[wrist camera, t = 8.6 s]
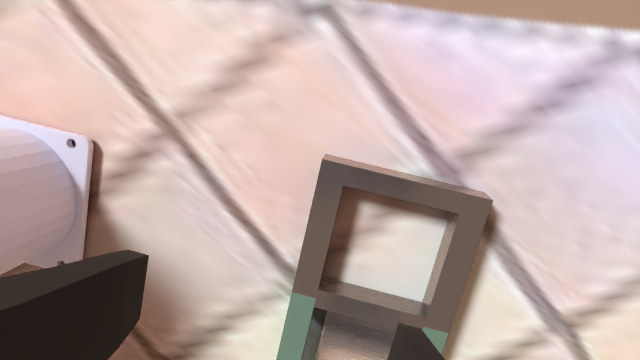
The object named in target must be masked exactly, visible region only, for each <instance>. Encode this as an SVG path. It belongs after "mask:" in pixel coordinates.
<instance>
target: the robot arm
mask: <svg viewBox="0 0 640 360" xmlns="http://www.w3.org/2000/svg"><path fill="white" fill-rule="evenodd" d="M72 139H73V140H74V141H75V142H76V146H75V147H74V146H73V145H72ZM92 158H93V142H92V140H91V139H90V138H89V137H87V136H84V135H80V134H76V133H72V132H68V131H64V130H60V129H56V128H52V127H48V126H44V125H40V124H35V123H31V122H27V121H23V120H19V119H15V118H11V117H7V116H3V115H0V275H1V274H3V273H5V272H7V271H9V270H11V269H13V268H15V267H17V266H19V265H21V264H23V263H27V264H31V265H35V266H38V267H42V268H46V269H41V270H36V271H32V272H27V273H22V274H18V275H13V276H8V277H2V278H0V360H108V358H109V357H110V356H111V355H112V354H113V353H114V352H115V351H116V350H117V349H118V348H119V346H120V345H121V344H122V342H123V341H124V340H125V338H126V337H127V336H128V335H129V333H130V332H131V330H132V329H133V327H134V326H135V325H136V323H137V322H138V320H139V319H140V313H141V306H142V299H143V292H144V285H145V278H146V271H147V264H148V257H149V255H145V254H141V253H138V252H134V251H130V250H125V251H118V252H113V253H108V254H104V255H100V256H96V257H92V258H88V259H84V260H83V252H84V241H85V231H86V220H87V210H88V199H89V189H90V178H91V168H92ZM62 261H63V262H64V263H65V264H62ZM387 360H445V359H444V358H443V357H442V355H441V354H440V353H439V351H438V350H437V349H436V347H435V346H434V345H433V343H432V342H431V341H430V339H429V338H428V337H427V335H426V334H425V333H424V332H423V331H422V329H420V328H417V327H413V326H409V325H406V324H402V323H398V326H397V330H396V333H395V336H394V339H393V343H392V346H391V349H390V352H389V356H388V359H387Z"/></svg>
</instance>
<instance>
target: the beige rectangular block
mask: <svg viewBox="0 0 640 360" xmlns="http://www.w3.org/2000/svg"><path fill="white" fill-rule="evenodd" d="M396 330H397V329H395V328H391V327H387V326H383V325H380V324H376V323H372V322H368V321H365V320H361V319H357V318H353V317H349V316H346V315H342V314H338V313H334V312H330V311H327V313H326V317H325V321H324V325H323V329H322V333H321V336H320V340H319V344H318V348H317V352H316V356H315V360H387V359H388V356H389V352H390V349H391V346H392V343H393V339H394V336H395V333H396Z"/></svg>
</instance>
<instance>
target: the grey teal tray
mask: <svg viewBox="0 0 640 360" xmlns="http://www.w3.org/2000/svg"><path fill="white" fill-rule="evenodd" d="M343 186H347V187H351V188H355V189H359V190H363V191H367V192H371V193H376V194H380V195H384V196H388V197H392V198H396V199H400V200H404V201H408V202H412V203H416V204H420V205H425V206H429V207H433V208H437V209H441V210H445V211H449V212H451V213H450V216H449V219H448V222H447V226H446V229H445V232H444V235H443V238H442V242H441V245H440V248H439V251H438V254H437V258H436V261H435V264H434V267H433V270H432V274H431V277H430V280H429V283H428V286H427V290H426V293H425V296H424V299H423V302H418V301H414V300H410V299H406V298H402V297H399V296H395V295H391V294H387V293H383V292H379V291H375V290H372V289H368V288H364V287H360V286H356V285H352V284H348V283H345V282H341V281H337V280H333V279H329V278H325V277H321V276H322V272H323V268H324V263H325V259H326V255H327V251H328V247H329V243H330V239H331V235H332V231H333V227H334V223H335V219H336V214H337V210H338V206H339V202H340V198H341V194H342V190H343ZM492 202H493V200H492V199H491V198H490V197H489V196H488V195H487V194H485V193H484V192H480V191H476V190H472V189H468V188H464V187H460V186H456V185H451V184H447V183H443V182H439V181H435V180H431V179H427V178H422V177H418V176H414V175H410V174H406V173H402V172H397V171H393V170H389V169H385V168H381V167H377V166H373V165H368V164H364V163H360V162H356V161H352V160H348V159H344V158H339V157H335V156H331V155H327V154H325V156H324V157H323V159H322V163H321V167H320V171H319V176H318V180H317V185H316V189H315V193H314V198H313V202H312V206H311V211H310V215H309V220H308V224H307V228H306V233H305V237H304V241H303V246H302V250H301V255H300V259H299V263H298V268H297V272H296V276H295V281H294V285H293V290H292V294H291V298H290V303H289V307H288V311H287V316H286V320H285V325H284V329H283V333H282V338H281V342H280V346H279V351H278V355H277V360H301V357H302V353H303V349H304V345H305V341H306V337H307V333H308V329H309V325H310V321H311V317H312V313H313V308H314V307H315V308H319V309H323V310H327V311H330V312H334V313H338V314H342V315H346V316H349V317H353V318H357V319H361V320H365V321H368V322H372V323H376V324H380V325H383V326H387V327H391V328H395V329H397V326H398V323H402V324H406V325H409V326H413V327H417V328H420V329H422V331H423V332H424V333H425V334H426V335H427V337H428V338H429V339H430V341H431V342H432V343H433V345H434V346H435V347H436V349H437V350H438V351H439V353H440V354H442V351H443V348H444V345H445V342H446V339H447V336H448V333H449V330H450V327H451V324H452V321H453V318H454V315H455V312H456V309H457V306H458V303H459V300H460V297H461V294H462V291H463V288H464V285H465V282H466V279H467V277H468V274H469V271H470V268H471V265H472V262H473V259H474V256H475V253H476V250H477V247H478V244H479V241H480V238H481V235H482V232H483V229H484V226H485V223H486V220H487V217H488V214H489V211H490V208H491V205H492Z"/></svg>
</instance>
